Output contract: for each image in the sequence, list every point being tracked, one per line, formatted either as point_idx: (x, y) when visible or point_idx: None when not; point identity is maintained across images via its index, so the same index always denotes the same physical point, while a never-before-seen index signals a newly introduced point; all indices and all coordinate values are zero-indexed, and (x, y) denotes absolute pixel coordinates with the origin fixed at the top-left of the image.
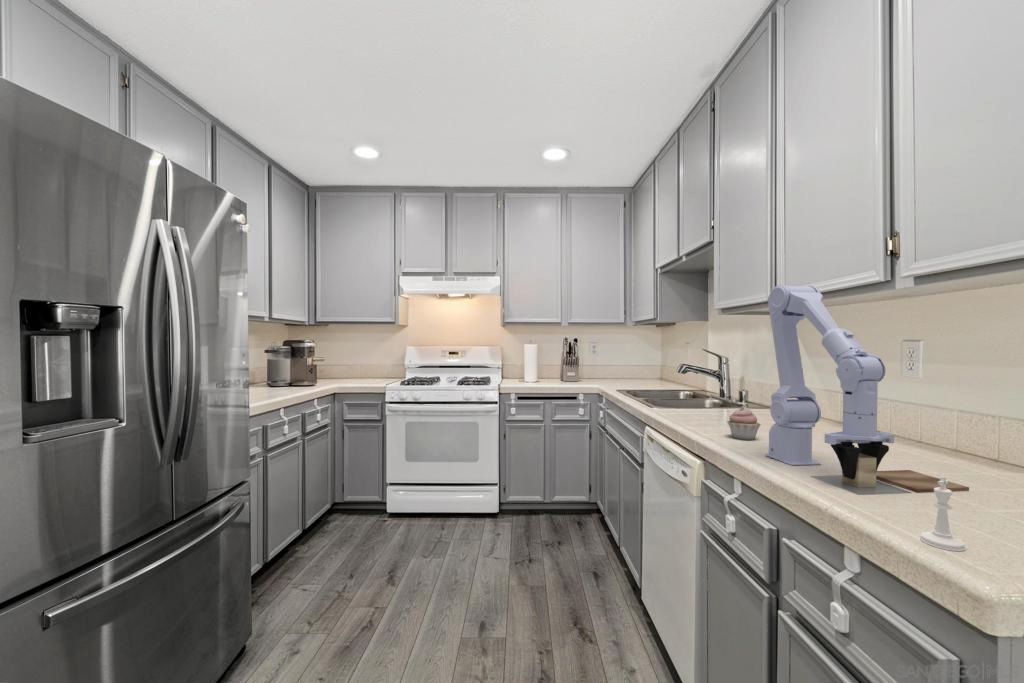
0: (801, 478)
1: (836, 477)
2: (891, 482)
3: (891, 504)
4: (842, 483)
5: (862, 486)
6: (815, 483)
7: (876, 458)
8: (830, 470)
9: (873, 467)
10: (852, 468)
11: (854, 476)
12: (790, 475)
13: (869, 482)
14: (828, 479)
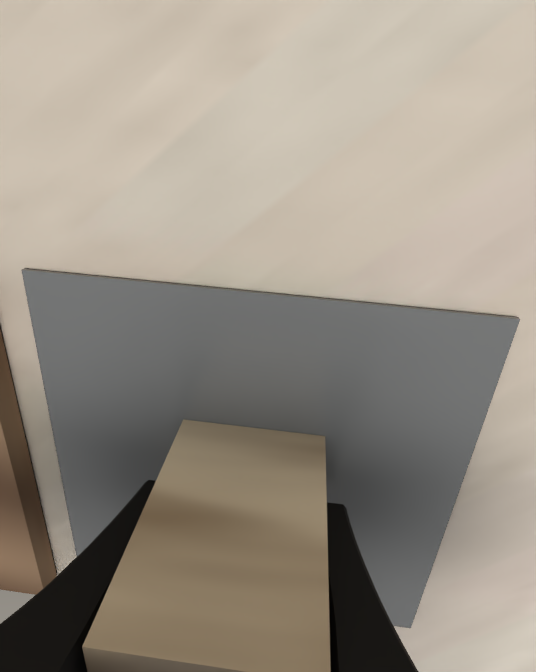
0: (501, 620)
1: None
2: (15, 441)
3: (493, 69)
4: (350, 510)
5: (291, 436)
6: (523, 551)
7: (76, 639)
8: None
9: (161, 545)
10: (368, 581)
11: (330, 516)
12: (505, 661)
13: (229, 448)
14: None
